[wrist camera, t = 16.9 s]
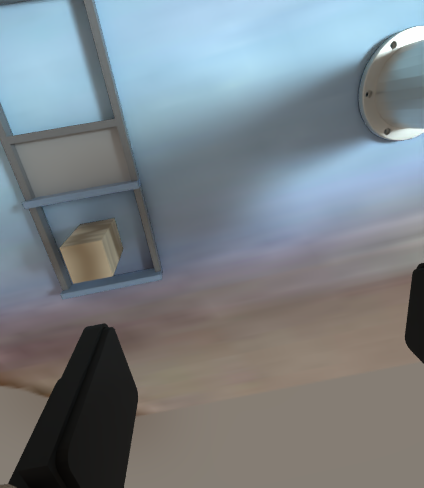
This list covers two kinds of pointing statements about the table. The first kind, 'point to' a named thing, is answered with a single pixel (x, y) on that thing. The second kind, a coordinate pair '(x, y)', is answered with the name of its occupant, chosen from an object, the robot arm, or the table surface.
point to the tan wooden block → (92, 251)
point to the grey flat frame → (79, 173)
